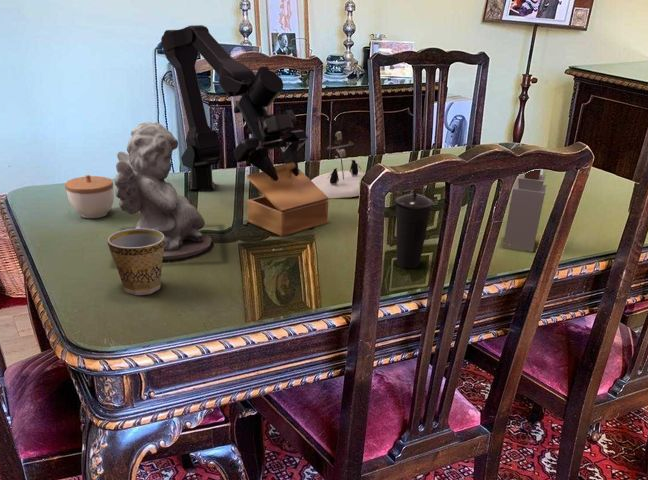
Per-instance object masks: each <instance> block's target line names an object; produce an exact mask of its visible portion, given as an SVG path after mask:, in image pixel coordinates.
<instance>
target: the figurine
mask: <svg viewBox="0 0 648 480" xmlns="http://www.w3.org/2000/svg"><path fill="white" fill-rule="evenodd" d="M334 136H335V137H336V138H335V145H336V144H338V145H337V146H331V145H328V146H327V145H325V144H322V146H323V147H324V148H326V151H330V150H335V151H336V152H337V153H338V154H339V157H340V165H341V170H340V171H338V168H337V167H336V168H333V171H331V172H327V173H323V174H320V175H316V177H314V178H312V179H310V180H311V181H312V182H313V183H314V184H315V185H316V186H317V187H318V188H319V189H320V190H321V191H322V192H323V193H324V194H325V195H326V196H327V197H328V198H329V199H340V198H341V199H342V198H352V197H359V182H360V179H361V177H362V176H363V175H364V174H365V173H364V172H362V171H359V169H360V170H362V167H360V165H359V164H358V163H357V161H356V159H351V164H350V168H349V170H344V166H343V159H345V157H347V154H346V150H345V148H347V147H350V146H354V144H355V143H353V140H352V141H350V140H348V141H347V142H348V143H347V144H342V143H343V135H342V131H336V133H335V134H334ZM341 144H342V145H341Z"/></svg>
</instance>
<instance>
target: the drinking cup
mask: <svg viewBox="0 0 648 480" xmlns="http://www.w3.org/2000/svg"><path fill="white" fill-rule="evenodd" d="M394 204H395V207H396V209H395V210H396V211H395V212H396V215H395V216H396V217H395V219H396V220H395V223H396V227H395V228H396V229H395V231H396V232H395V233H396V235H395V236H396V237H395V240H396V244H395V245H396V246H395V247H396V248H395V249H396V251H395V253H396V255H395V256H396V261H395V262H396V265H397V266H398V267H400V268H402V269H416V268H418V267H419V266H420V263H421V259H422V254H423V250H424V249H423V248H424V245H425V241H426V240H425V239H426V234H427V229H428V225H429V220H430V216H431V215H430V214H431V210H432V208H433V206H434V201H433V200H432V199H431V198H429V197H427V196H425V195H423V194H418V188H417V189H414V188H413V192H412V193H407V194H404V195H400V196H398V197H396V198H395V200H394Z"/></svg>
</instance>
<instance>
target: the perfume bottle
mask: <svg viewBox="0 0 648 480" xmlns="http://www.w3.org/2000/svg"><path fill="white" fill-rule="evenodd" d="M541 171H542V169H541V170H534V171H530V172H528V173H526V174H524V175H521V176H519V175H518V178H517V180H515V182H514V185H513V187H512V190H511V191H512V192H511V196H510V203H509V208H508V213H507V214H508V215H507V219H506V223H505V224H506V225H505V231H504V236H503V241H502V248H503V249H507V250H508V249H509V250H514V251H521V252H528V253H533V252H534V248H535V244H536V239H537V236H538V235H537V234H538V230H539V224H540V220H541V216H542V215H541V214H542V211H543V205H544V200H545V196H546V192H547V191H546V190H547V186H548V185H547V184H544V182H545V178H546V174H541ZM503 243H505V244H503ZM509 244H510V245H509Z"/></svg>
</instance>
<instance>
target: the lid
mask: <svg viewBox="0 0 648 480" xmlns="http://www.w3.org/2000/svg"><path fill="white" fill-rule="evenodd" d="M273 167H274V169H275V171H276V173H277V176H278V180H277V181H275V180H273V179H272V178H271V177H269V176H268V175H267V174H265V173H264V172H263V171H260V172H254V173H250V174H247V175H246V178H247V180H248V181H249V182H250V183H252V185H253V186H254V187H255V188H256V189H257V190H258V191H259V192H260V193H261V194H262V196H265V197H266V198H267V199H268V200H269V201H270V202H271V203H272V204H273V205H274V206H275V207H276V208H277V209H278V210H279V211H280V212H281V213H283V212H287V211H290V210H294V209H298V208H302V207H305V206H309V205H313V204H316V203H320V202H324V201H328V202H329V199H330V198H328V197H327V196H326V195H325V194H324V193H323V192H322V191H321V190H320V189H319V188H318V187H317V186H316V185H315V184H314V183H313V182H312V181H311V180H312V179H310V178H309V177H308V176H307V175H306V174H305V173H304V172H303V171H302V170H301V169H300V168H298V170H299V175H298V176H295V175H294V174H293V173H292V170H293V169H295V167H296V166H295V163H294V162H291V163H282V164H278V165H273Z"/></svg>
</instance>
